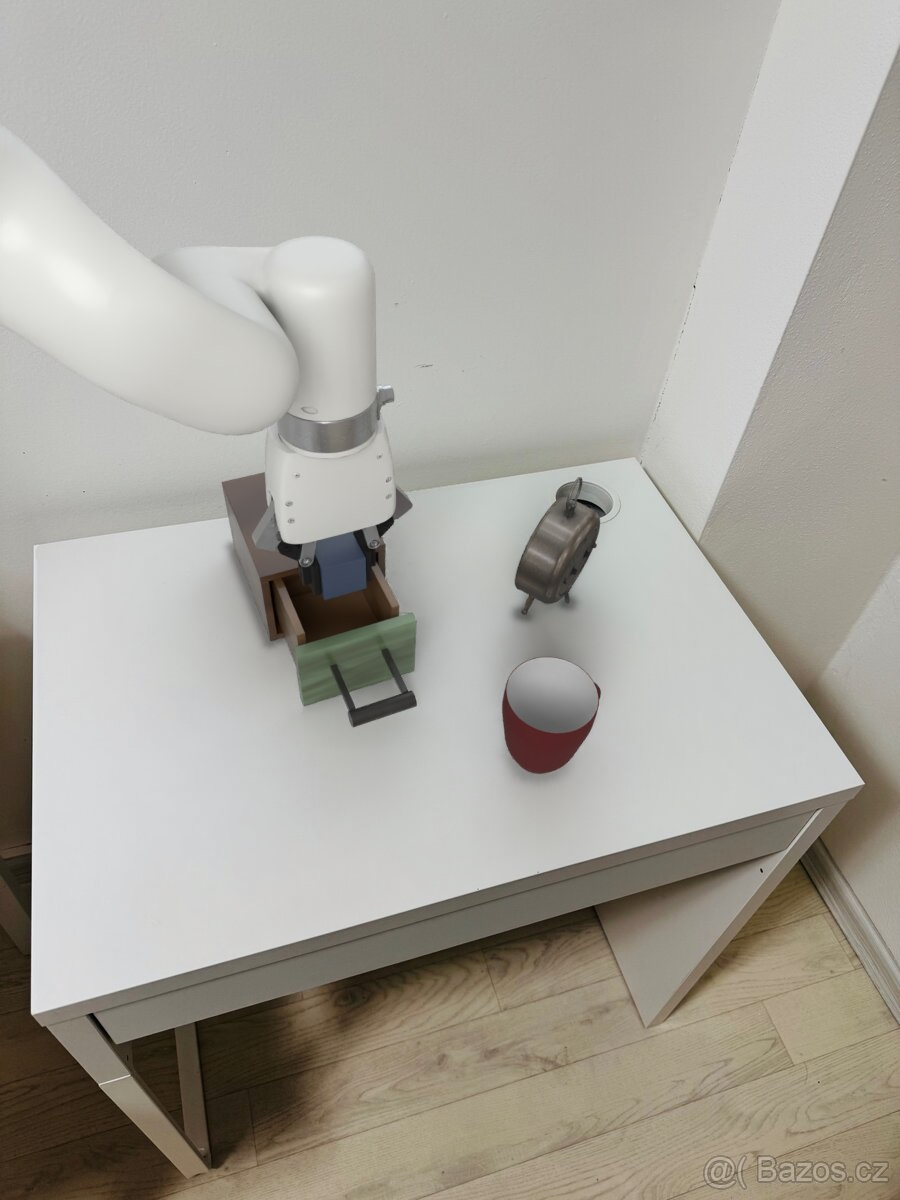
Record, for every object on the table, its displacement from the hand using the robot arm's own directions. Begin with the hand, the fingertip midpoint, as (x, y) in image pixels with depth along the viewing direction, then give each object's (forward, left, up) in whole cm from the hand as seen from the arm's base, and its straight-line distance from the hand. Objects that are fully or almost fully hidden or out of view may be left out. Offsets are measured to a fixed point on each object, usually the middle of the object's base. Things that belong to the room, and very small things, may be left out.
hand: (338, 576), depth 76 cm
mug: (+14, -18, -12) cm, 25 cm away
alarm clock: (+24, -1, -12) cm, 27 cm away
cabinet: (0, +11, -11) cm, 16 cm away
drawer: (0, -2, -11) cm, 11 cm away
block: (0, 0, 0) cm, 0 cm away
